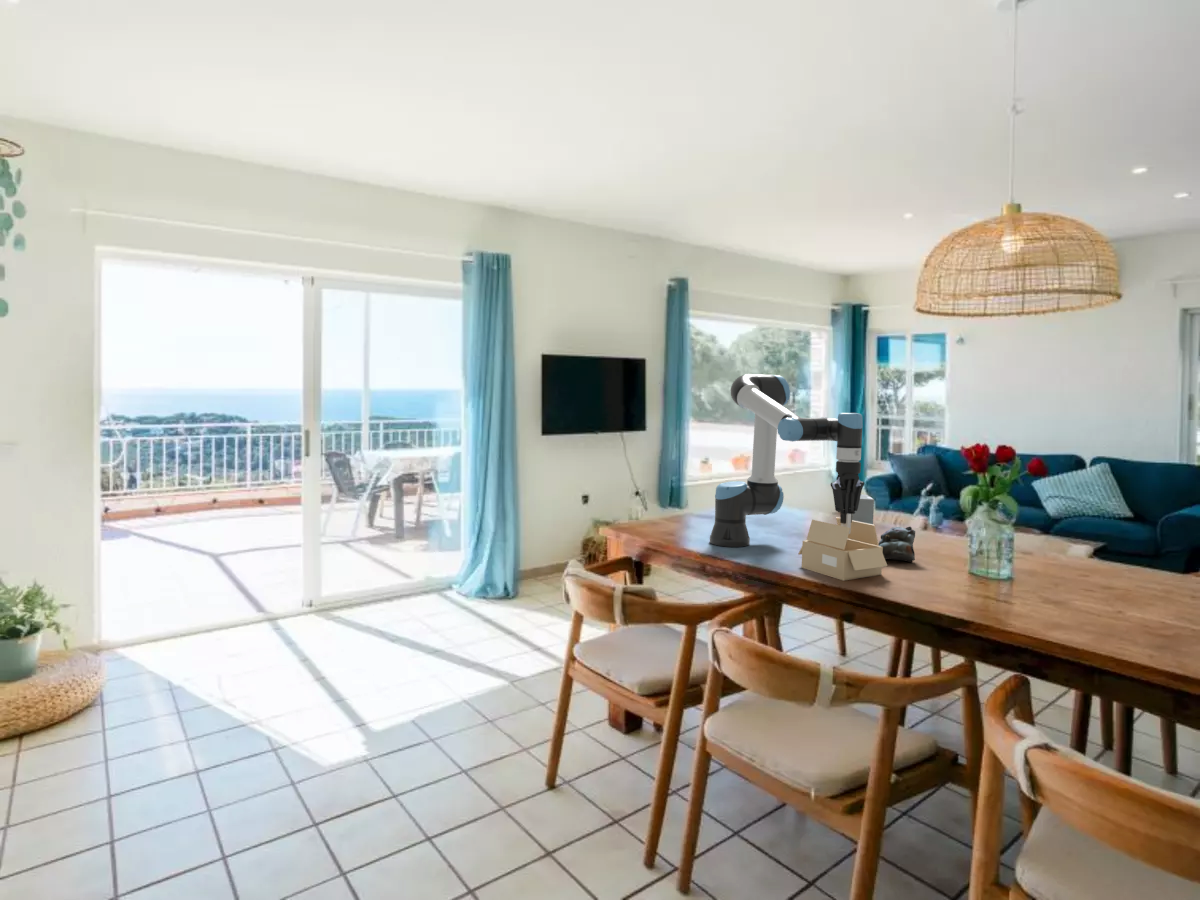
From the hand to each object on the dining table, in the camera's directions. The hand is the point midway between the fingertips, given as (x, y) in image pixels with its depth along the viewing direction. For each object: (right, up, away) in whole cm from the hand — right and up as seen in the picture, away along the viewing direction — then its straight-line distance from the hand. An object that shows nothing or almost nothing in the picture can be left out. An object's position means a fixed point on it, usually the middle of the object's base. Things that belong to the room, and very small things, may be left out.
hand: (845, 533), depth 229 cm
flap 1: (-7, 0, -4) cm, 8 cm away
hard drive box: (+17, -10, +35) cm, 40 cm away
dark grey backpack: (+22, -12, +17) cm, 31 cm away
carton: (-1, -12, 0) cm, 12 cm away
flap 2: (+4, 0, +2) cm, 5 cm away
